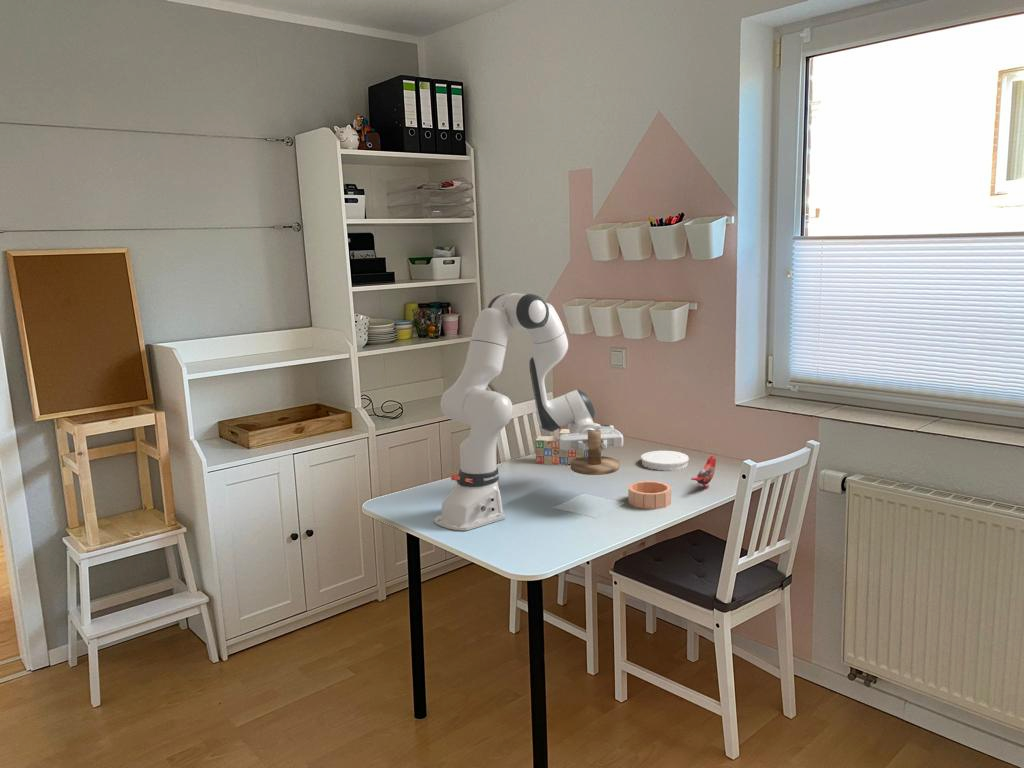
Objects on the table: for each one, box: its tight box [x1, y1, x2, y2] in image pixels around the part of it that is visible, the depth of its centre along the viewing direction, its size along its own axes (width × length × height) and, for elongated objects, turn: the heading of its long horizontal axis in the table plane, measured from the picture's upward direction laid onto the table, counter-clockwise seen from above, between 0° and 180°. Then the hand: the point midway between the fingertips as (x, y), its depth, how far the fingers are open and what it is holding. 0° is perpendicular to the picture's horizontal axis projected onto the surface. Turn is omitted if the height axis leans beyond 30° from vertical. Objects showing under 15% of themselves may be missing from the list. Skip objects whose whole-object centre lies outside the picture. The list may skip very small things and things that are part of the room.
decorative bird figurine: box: [690, 455, 717, 490], centre depth 252 cm, size 3×18×10 cm, turn 141°
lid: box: [640, 450, 690, 471], centre depth 284 cm, size 17×20×3 cm
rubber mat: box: [553, 493, 626, 519], centre depth 242 cm, size 16×16×1 cm
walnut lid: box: [569, 430, 620, 476], centre depth 239 cm, size 15×15×12 cm
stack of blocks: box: [534, 428, 588, 465], centre depth 289 cm, size 21×6×12 cm, turn 76°
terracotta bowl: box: [627, 480, 672, 510], centre depth 243 cm, size 13×13×5 cm
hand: (595, 447), depth 238 cm, fingers closed on walnut lid, 4 cm apart
